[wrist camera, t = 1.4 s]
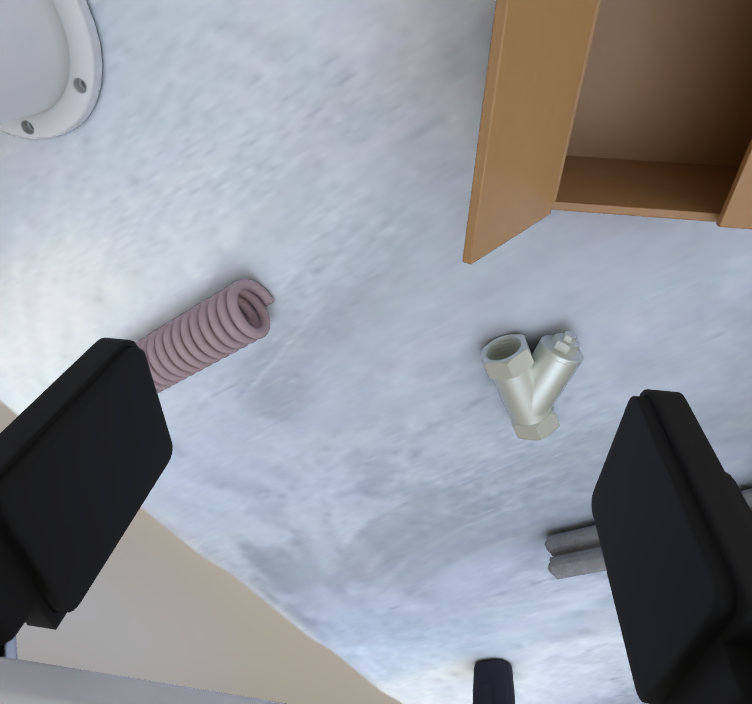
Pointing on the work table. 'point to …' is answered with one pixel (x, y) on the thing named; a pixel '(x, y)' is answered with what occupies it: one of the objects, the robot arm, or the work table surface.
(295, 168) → the work table surface
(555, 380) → the pipe fitting
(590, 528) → the grey double pipe
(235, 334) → the coil
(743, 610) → the robot arm
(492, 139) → the flap
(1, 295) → the work table surface
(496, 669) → the two-way radio
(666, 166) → the box
